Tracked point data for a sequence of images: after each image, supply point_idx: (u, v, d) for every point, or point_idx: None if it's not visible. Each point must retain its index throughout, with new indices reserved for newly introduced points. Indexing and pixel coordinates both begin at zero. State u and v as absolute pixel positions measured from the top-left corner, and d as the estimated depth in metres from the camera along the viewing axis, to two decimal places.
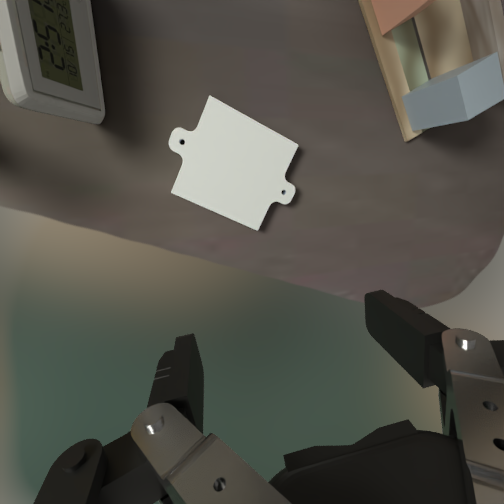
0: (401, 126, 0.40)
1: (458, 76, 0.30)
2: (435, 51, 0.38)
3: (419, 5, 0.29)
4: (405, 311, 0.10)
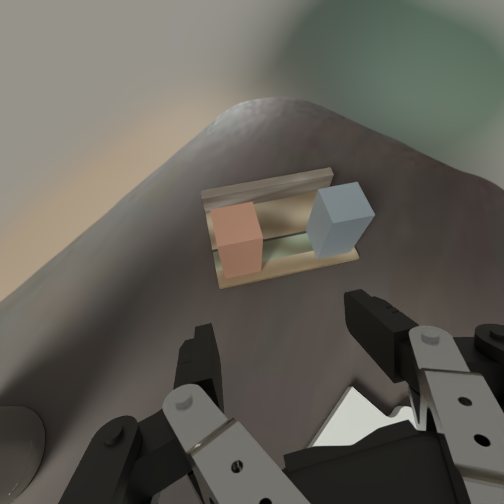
0: (343, 261, 0.39)
1: (333, 222, 0.31)
2: (283, 225, 0.41)
3: (261, 248, 0.32)
4: (379, 309, 0.11)
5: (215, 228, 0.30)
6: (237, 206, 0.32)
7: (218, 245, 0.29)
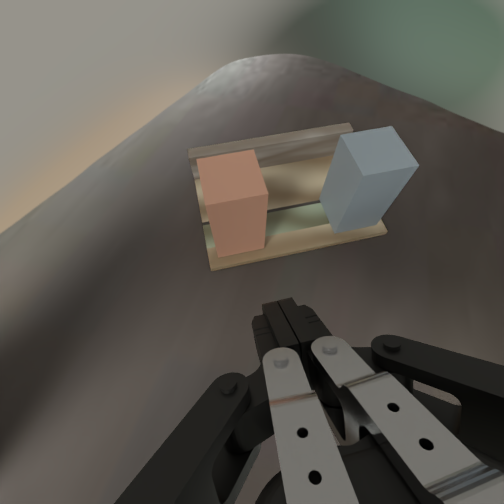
0: (367, 236, 0.31)
1: (364, 174, 0.23)
2: (291, 194, 0.33)
3: (265, 211, 0.24)
4: (297, 319, 0.11)
5: (203, 182, 0.22)
6: (233, 155, 0.24)
7: (206, 203, 0.21)
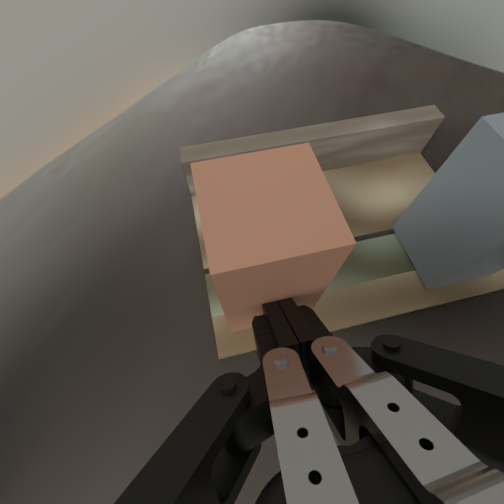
0: (481, 293, 0.18)
1: None
2: (346, 218, 0.21)
3: (334, 271, 0.11)
4: (297, 319, 0.11)
5: (205, 215, 0.10)
6: (268, 155, 0.11)
7: (214, 270, 0.09)
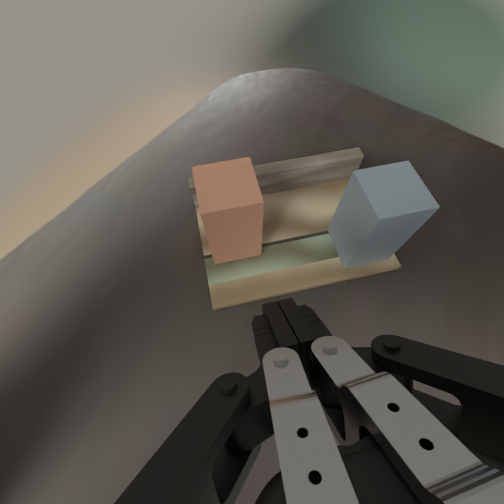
0: (379, 271, 0.29)
1: (380, 217, 0.21)
2: (298, 223, 0.31)
3: (261, 219, 0.23)
4: (297, 319, 0.11)
5: (198, 190, 0.22)
6: (229, 162, 0.23)
7: (201, 212, 0.21)
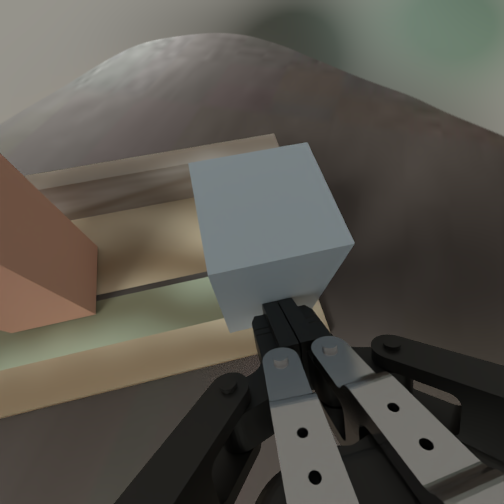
0: None
1: (211, 271, 0.09)
2: (173, 257, 0.19)
3: (11, 272, 0.11)
4: (298, 319, 0.11)
5: None
6: None
7: None
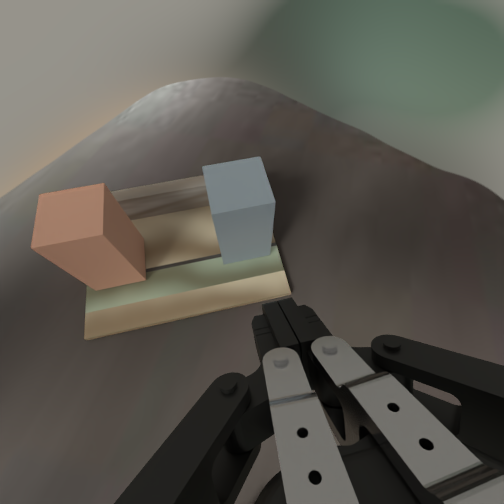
0: (268, 298, 0.27)
1: (213, 212, 0.21)
2: (193, 245, 0.30)
3: (115, 249, 0.22)
4: (298, 319, 0.11)
5: (37, 221, 0.21)
6: (80, 189, 0.22)
7: (33, 246, 0.20)
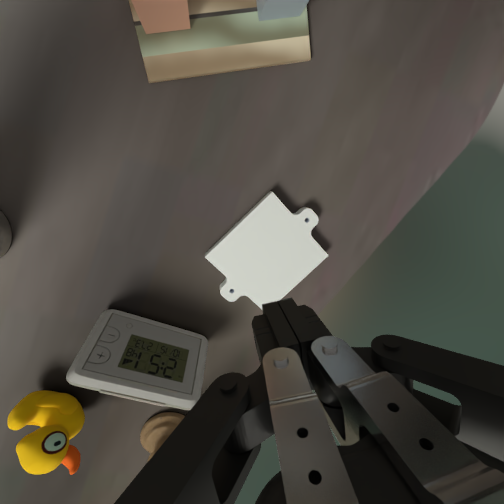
0: (292, 62, 0.34)
1: None
2: None
3: None
4: (297, 319, 0.11)
5: None
6: None
7: None
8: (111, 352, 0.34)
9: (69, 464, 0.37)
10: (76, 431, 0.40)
